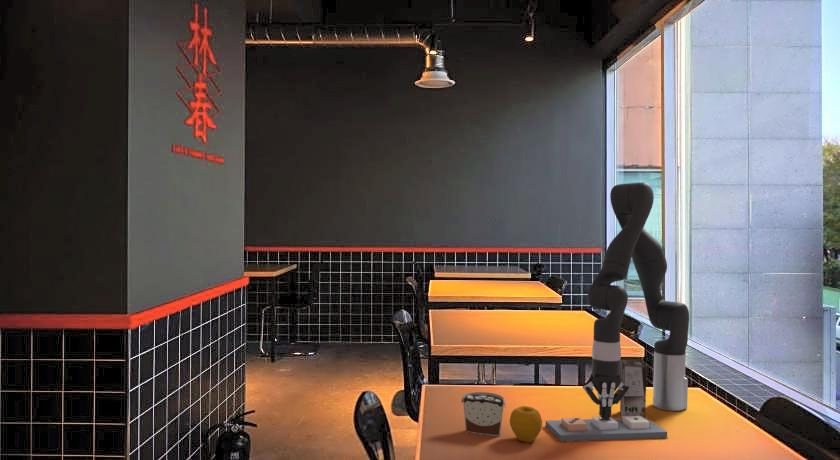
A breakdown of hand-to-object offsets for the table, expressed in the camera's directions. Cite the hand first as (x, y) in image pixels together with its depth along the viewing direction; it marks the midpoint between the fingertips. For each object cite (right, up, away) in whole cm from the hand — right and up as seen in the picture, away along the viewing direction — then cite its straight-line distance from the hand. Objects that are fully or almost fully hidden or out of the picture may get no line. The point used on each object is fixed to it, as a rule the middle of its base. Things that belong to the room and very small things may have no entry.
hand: (605, 418), depth 172 cm
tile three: (-9, -3, -1) cm, 9 cm away
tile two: (0, -3, 0) cm, 3 cm away
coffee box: (+12, -4, +14) cm, 19 cm away
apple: (-23, -4, -7) cm, 25 cm away
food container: (-33, -3, 0) cm, 33 cm away
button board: (0, -4, 0) cm, 4 cm away
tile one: (+9, -3, +1) cm, 10 cm away
